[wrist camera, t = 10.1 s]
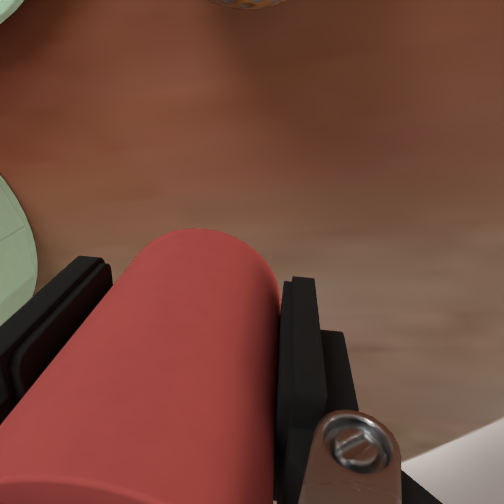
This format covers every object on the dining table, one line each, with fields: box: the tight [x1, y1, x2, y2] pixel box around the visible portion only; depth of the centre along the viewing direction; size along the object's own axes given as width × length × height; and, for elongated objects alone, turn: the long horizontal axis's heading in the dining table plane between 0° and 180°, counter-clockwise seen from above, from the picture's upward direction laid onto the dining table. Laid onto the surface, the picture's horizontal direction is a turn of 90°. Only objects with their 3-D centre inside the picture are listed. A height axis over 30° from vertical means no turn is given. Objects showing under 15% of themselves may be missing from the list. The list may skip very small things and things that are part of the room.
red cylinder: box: [0, 228, 281, 504], centre depth 8 cm, size 4×4×7 cm
